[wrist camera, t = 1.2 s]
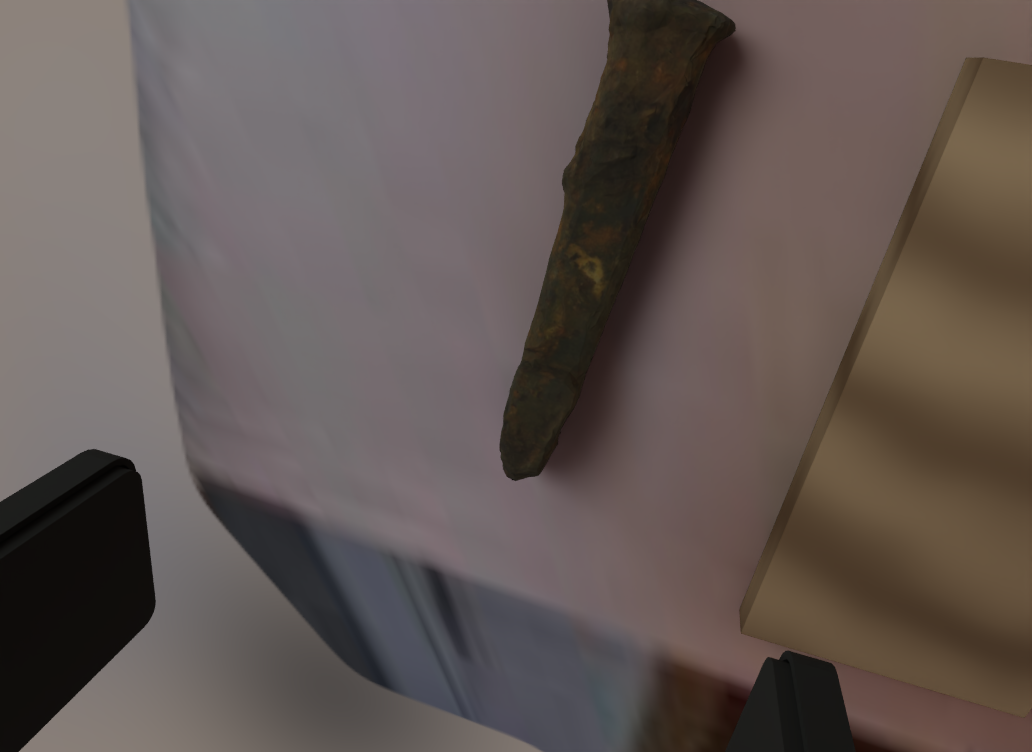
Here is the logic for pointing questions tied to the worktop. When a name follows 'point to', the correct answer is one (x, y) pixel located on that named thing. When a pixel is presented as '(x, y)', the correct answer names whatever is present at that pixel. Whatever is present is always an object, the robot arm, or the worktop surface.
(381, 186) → the worktop surface
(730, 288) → the worktop surface
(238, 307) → the worktop surface
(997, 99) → the board
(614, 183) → the hand tool
